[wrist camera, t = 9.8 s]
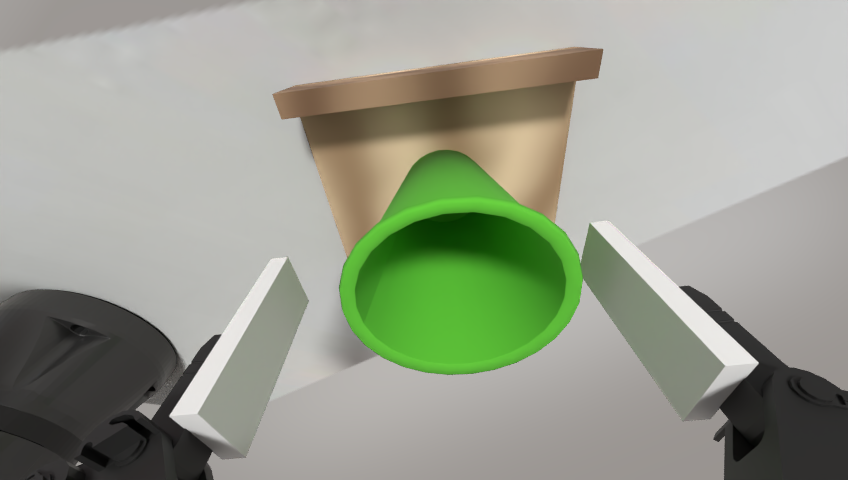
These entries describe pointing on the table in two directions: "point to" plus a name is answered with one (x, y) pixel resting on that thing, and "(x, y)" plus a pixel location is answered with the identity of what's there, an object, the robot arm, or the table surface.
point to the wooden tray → (441, 128)
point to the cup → (459, 273)
